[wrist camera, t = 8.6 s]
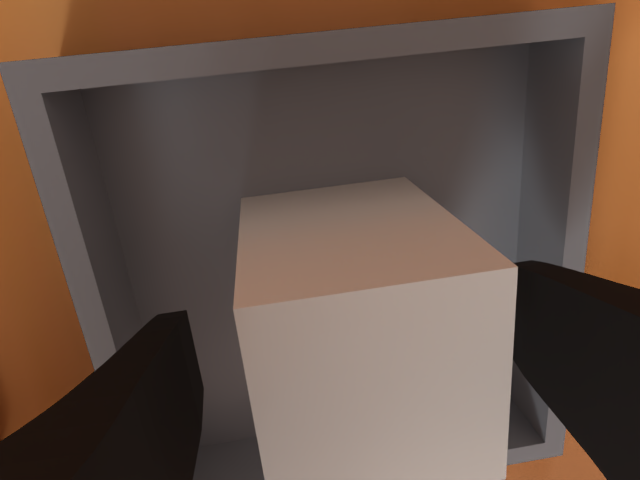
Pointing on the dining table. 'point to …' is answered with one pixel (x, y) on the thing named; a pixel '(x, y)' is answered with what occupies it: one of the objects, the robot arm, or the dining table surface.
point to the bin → (307, 169)
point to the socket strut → (373, 336)
